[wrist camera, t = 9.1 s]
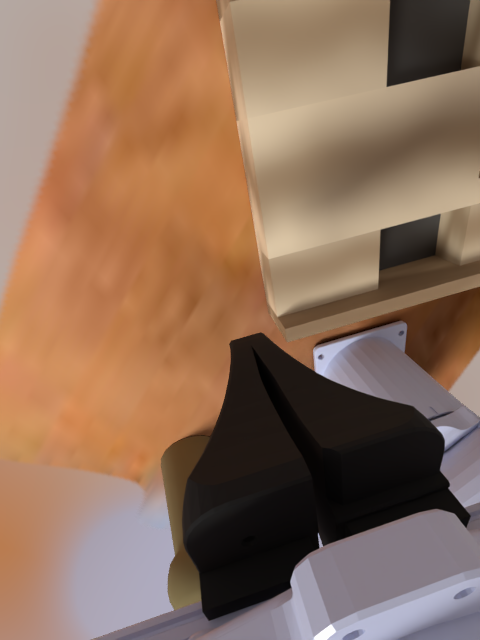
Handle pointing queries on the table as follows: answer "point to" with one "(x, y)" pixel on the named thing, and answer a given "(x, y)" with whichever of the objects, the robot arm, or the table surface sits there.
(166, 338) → the table surface
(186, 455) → the cork
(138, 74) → the table surface
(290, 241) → the board
